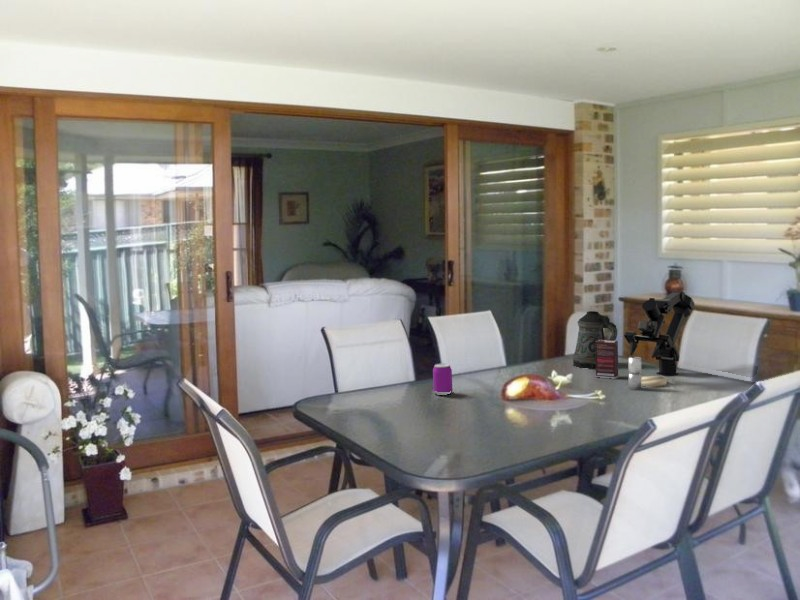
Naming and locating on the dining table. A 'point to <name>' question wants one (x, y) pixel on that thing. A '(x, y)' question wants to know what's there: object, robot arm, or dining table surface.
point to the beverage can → (442, 377)
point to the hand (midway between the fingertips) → (641, 356)
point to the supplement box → (606, 359)
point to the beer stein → (591, 338)
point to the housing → (634, 373)
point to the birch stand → (653, 381)
